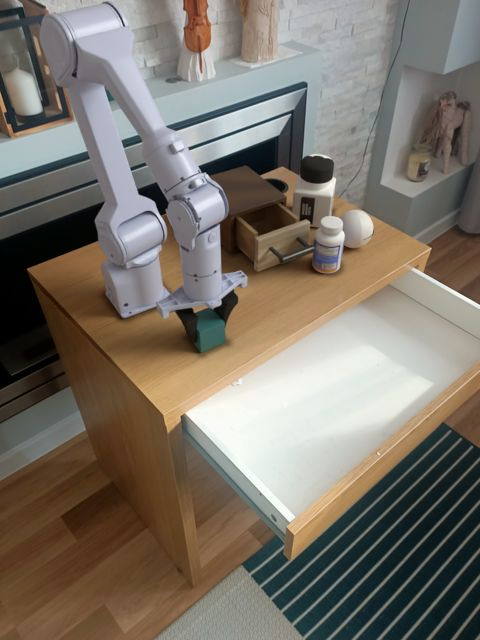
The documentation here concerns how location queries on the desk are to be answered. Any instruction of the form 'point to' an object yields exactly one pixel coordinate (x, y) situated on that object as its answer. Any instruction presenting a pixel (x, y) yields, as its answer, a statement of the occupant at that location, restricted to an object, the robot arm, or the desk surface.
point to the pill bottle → (328, 245)
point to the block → (209, 330)
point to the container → (314, 189)
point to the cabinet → (243, 198)
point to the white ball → (356, 228)
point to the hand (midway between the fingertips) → (206, 333)
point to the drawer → (272, 236)
